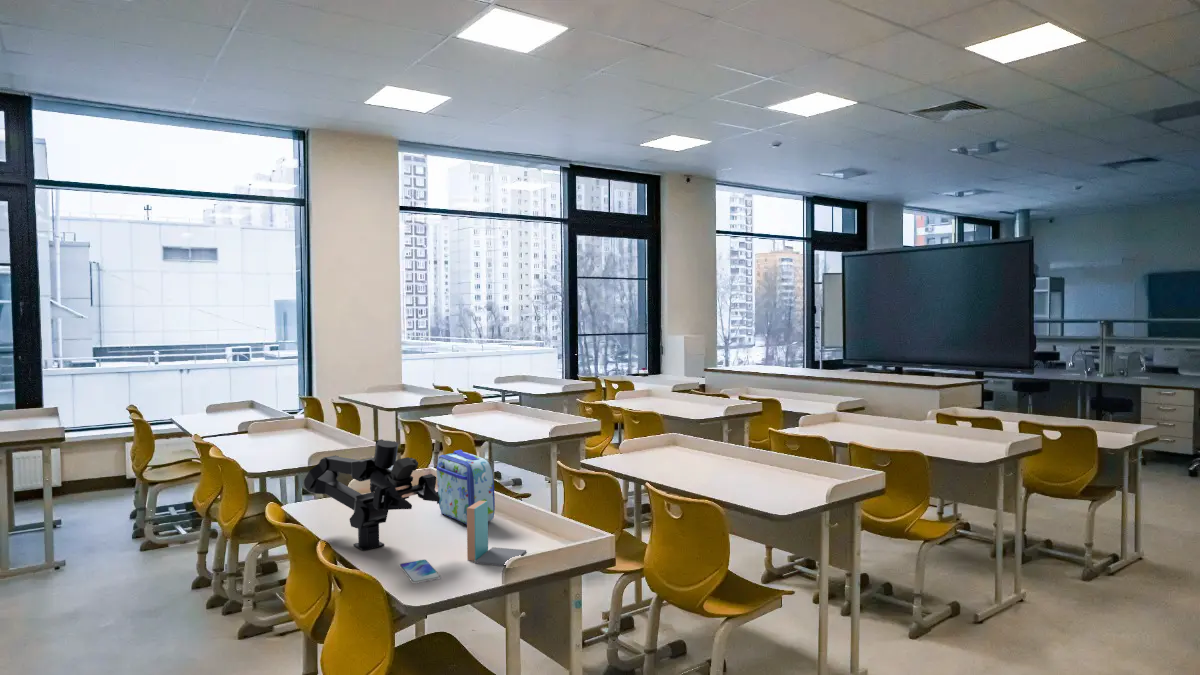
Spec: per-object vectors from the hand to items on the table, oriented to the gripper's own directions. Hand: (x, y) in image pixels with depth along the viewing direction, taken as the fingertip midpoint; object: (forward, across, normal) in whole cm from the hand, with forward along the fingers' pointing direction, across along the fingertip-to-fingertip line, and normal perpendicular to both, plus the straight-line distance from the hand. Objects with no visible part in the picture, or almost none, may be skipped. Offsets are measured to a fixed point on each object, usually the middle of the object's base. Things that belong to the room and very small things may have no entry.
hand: (425, 503), depth 194 cm
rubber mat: (+16, +15, +13) cm, 25 cm away
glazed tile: (+10, +13, +14) cm, 21 cm away
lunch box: (-20, +35, +22) cm, 46 cm away
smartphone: (+7, -5, +16) cm, 18 cm away
